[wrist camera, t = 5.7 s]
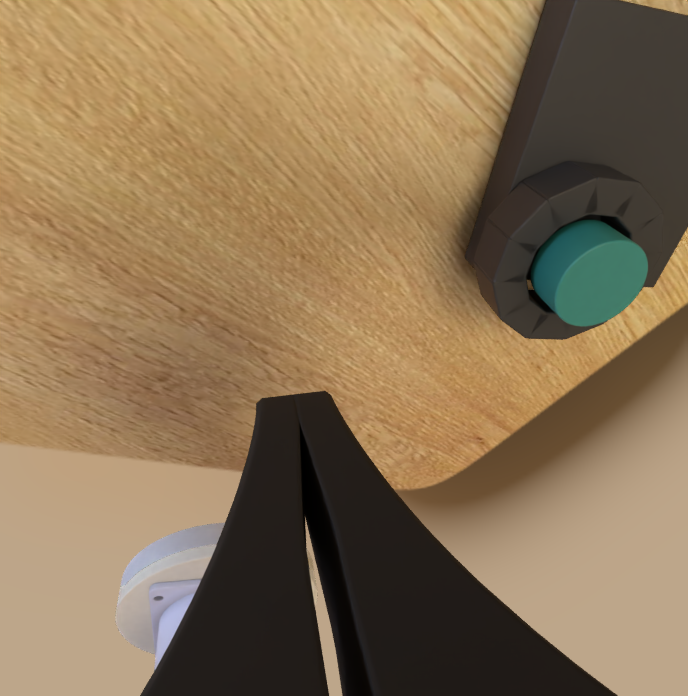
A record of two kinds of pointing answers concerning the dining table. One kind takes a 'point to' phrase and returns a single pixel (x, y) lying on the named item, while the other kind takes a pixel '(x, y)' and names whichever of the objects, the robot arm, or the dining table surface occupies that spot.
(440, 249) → the dining table surface
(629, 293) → the button
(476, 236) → the button block
